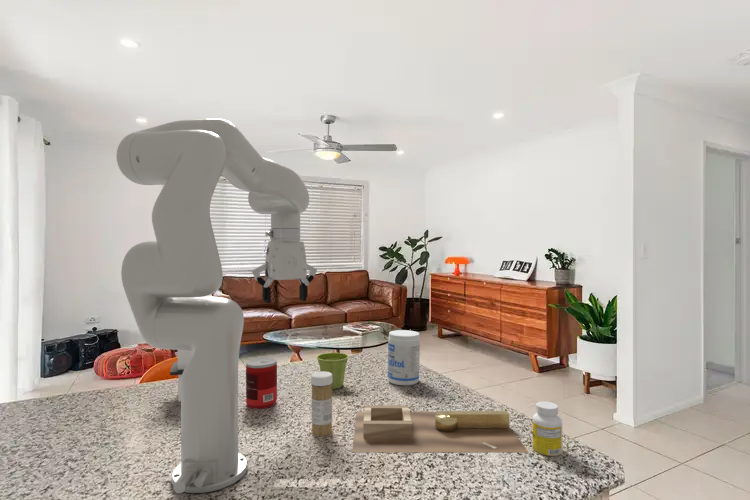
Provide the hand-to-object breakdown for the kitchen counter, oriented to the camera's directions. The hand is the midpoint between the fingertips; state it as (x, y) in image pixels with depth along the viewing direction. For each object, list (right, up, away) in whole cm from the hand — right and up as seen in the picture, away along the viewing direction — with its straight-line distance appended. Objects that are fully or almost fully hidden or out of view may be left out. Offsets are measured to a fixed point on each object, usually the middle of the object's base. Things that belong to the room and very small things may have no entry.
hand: (285, 301), depth 110 cm
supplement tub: (+32, -26, +17) cm, 45 cm away
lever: (+45, -25, -18) cm, 54 cm away
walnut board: (+36, -26, -19) cm, 48 cm away
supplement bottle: (+57, -27, -28) cm, 69 cm away
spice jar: (+12, -27, -20) cm, 35 cm away
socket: (+26, -25, -18) cm, 40 cm away
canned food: (-6, -27, -1) cm, 27 cm away
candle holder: (-26, -27, +5) cm, 38 cm away
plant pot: (+11, -26, +13) cm, 32 cm away
